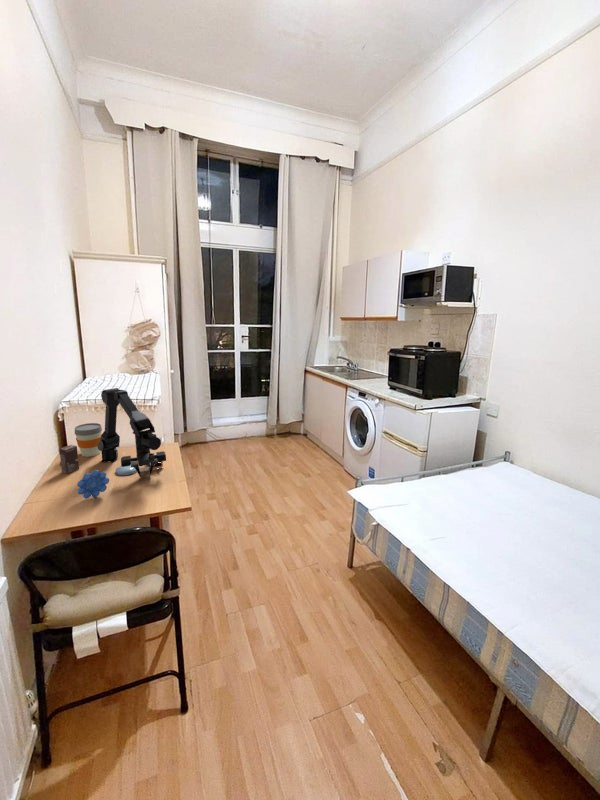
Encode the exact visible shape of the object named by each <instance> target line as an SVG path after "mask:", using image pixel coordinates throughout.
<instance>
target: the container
mask: <svg viewBox="0 0 600 800" xmlns="http://www.w3.org/2000/svg"><path fill="white" fill-rule="evenodd" d="M153 453H154V455H156V452H153ZM158 462H159V461H158ZM163 462H164V461H161V463H160V465H158V466H154V467H153V469H156V470H158V469H157V468H162V467H163V468H164V463H163ZM146 467H149V465H146Z"/></svg>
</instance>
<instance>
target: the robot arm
mask: <svg viewBox="0 0 600 800" xmlns="http://www.w3.org/2000/svg"><path fill="white" fill-rule="evenodd" d="M100 395H101V396H100V397H101V401H102V402H103V404H104V405H105V410H104V411H105V415H104V431H103V433H102V432H101V434H102V435H101V438H100V441H99V443H98V445H97V447H98V450H100V451H101V453H100V454H101V459H102V460H101V461H100V462H101V463H109V462H110V463H111V462H116V461H117V460H118V457H119V450H118V449H117V448H120V444H121V443H120V442H121V437H120V436H121V435H119V434H118V432H117V431H116V430H117V415H118V412H117V411H118V406H119V405H120V406H121V408H122V409H123V410H124V412H125V414H126V415H127V416H128V418H129V426H130V428H131V430H132V434H133V435H134V440H135V448H136V449H135V450H136V451H135V452H136V457H132V456H131V455H124V456H122V457H121V458H120V466H121V467H126V466H130V465H131V467H134V468H135V469H136V470H137V472H136V473H137V474H138V477H140V478H141V475H140V468H141V467H143V466H145V467H146V466H147V465H148V466H149V468H150V476H152V473H153V471H154V470H153V467H155V465H158V464H157V463H158V461H159V462H161V461H163V462H166V461H167V455H166V451H157V452H151V451H156V450H158V449H159V448H160V447H161V445H162V440H161V438H159V437H157V434H155V432H156V430H155V426H154V424H152V421H151V419H150V418H149V417H148V416H147V415H146V414H145V413H143V412H141V411H139V409H138V407H137V406H136V404H135V402H133V400H132V399H131V397H130V396H129V393H128V391H127V390H124V389H120V388H119V387H116V388H109V389H104V390H103V389H102V392H101V394H100ZM154 453H156V455H154Z"/></svg>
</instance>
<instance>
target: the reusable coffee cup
mask: <svg viewBox="0 0 600 800" xmlns="http://www.w3.org/2000/svg"><path fill="white" fill-rule="evenodd" d="M102 431H103V428H102V424H101V423H97V422H90V423H89V422H87V423H83V424H79V425H77V426H75V427H74V435H75V437H76V438H75V440H76V443H77V448H79V451H80V454H81V456H82V457H88V458H89V457H93V456H97V454H98V455H99V453H100V454H102V453H101V451H100V450H98V447H97V445H98V443H99V441H100V438H101V435H102Z"/></svg>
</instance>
